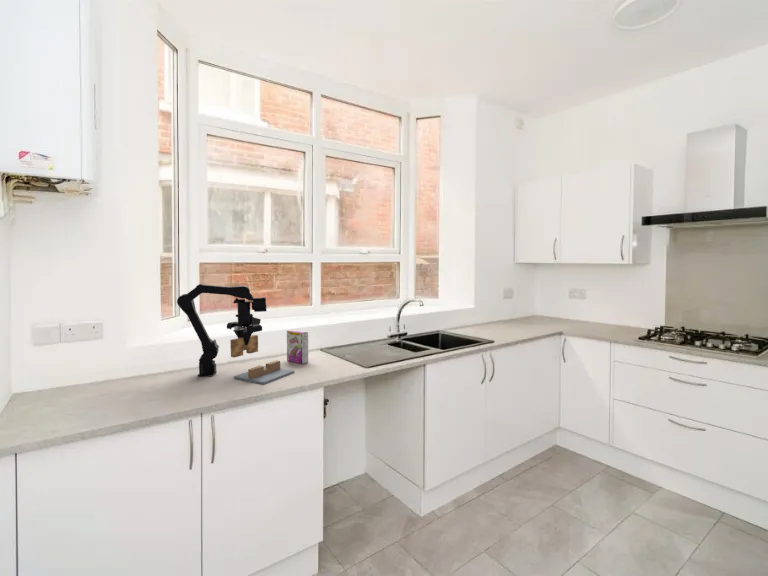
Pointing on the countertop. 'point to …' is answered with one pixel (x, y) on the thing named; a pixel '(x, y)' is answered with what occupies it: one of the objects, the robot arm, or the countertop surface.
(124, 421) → the countertop surface
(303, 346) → the candy bar box
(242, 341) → the crossbar
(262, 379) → the joint board
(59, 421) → the countertop surface
